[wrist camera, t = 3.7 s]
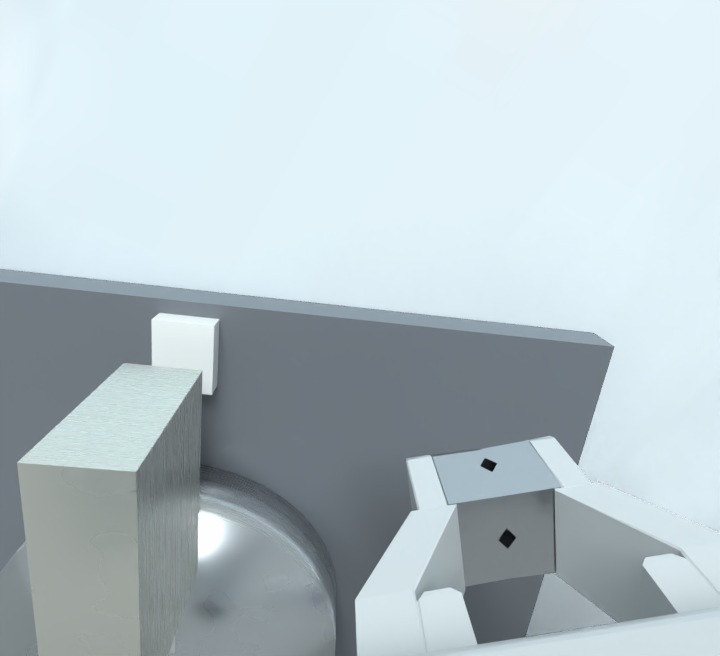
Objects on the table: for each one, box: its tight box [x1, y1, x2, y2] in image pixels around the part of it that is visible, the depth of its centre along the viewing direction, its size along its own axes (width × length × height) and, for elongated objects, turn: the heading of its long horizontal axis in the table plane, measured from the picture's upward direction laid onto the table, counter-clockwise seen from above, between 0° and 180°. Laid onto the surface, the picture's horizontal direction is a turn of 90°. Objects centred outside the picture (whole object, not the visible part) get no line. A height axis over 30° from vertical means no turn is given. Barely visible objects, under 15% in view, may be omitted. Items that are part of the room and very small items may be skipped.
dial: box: [0, 363, 336, 656], centre depth 13 cm, size 10×14×6 cm
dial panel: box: [0, 269, 614, 656], centre depth 16 cm, size 24×20×2 cm
